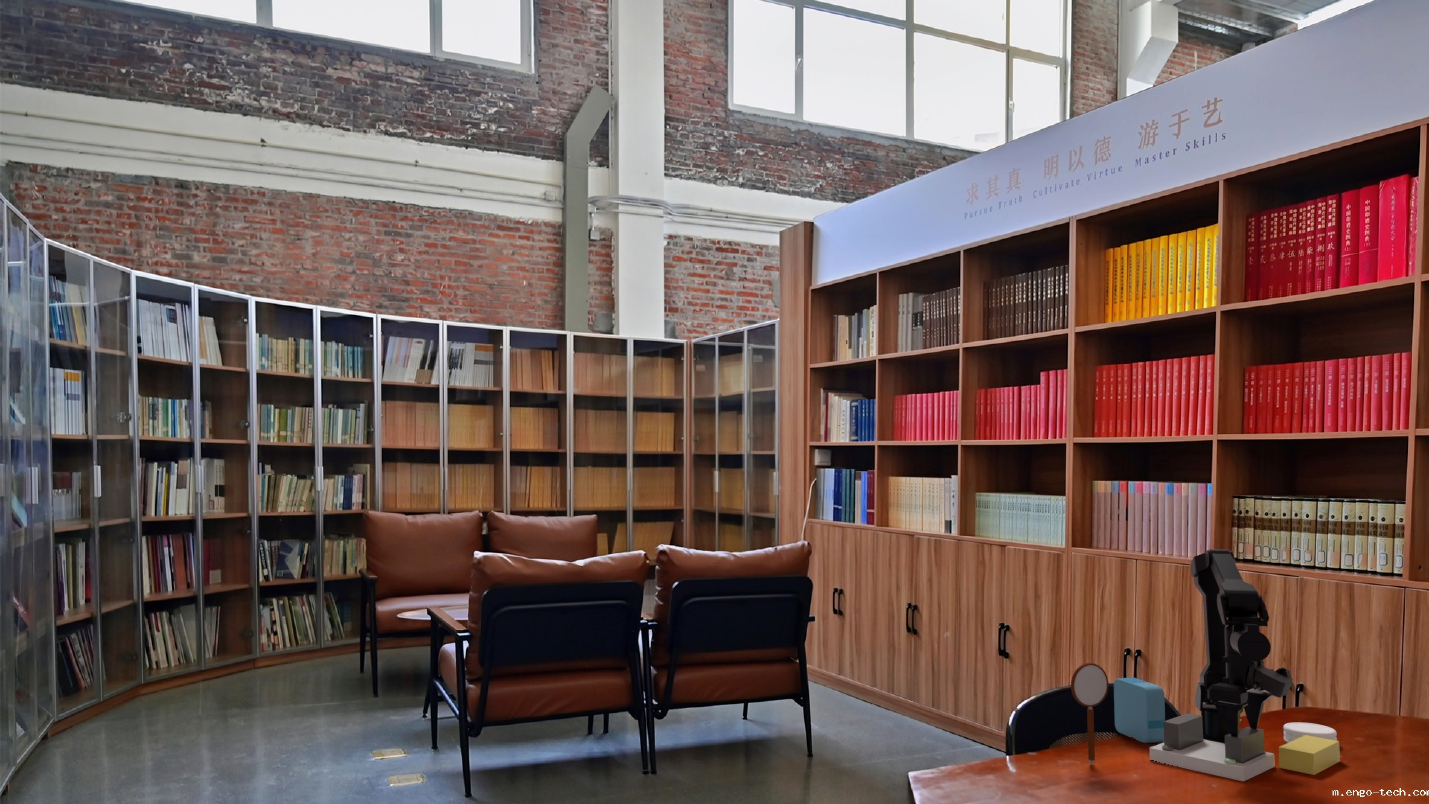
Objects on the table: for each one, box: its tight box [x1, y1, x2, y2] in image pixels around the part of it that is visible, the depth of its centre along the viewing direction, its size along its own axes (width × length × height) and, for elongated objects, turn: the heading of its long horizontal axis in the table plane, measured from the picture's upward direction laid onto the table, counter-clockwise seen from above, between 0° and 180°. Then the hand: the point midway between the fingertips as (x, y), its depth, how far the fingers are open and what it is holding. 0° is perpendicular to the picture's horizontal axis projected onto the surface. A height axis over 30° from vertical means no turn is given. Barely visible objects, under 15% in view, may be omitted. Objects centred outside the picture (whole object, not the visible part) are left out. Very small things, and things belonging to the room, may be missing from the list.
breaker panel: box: [1149, 739, 1276, 782], centre depth 198 cm, size 18×15×3 cm
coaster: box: [1282, 721, 1338, 744], centre depth 214 cm, size 10×10×4 cm
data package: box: [1113, 677, 1166, 744], centre depth 219 cm, size 12×4×12 cm, turn 11°
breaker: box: [1163, 712, 1204, 750], centre depth 204 cm, size 3×11×5 cm, turn 131°
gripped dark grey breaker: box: [1224, 726, 1266, 764], centre depth 195 cm, size 3×11×5 cm, turn 131°
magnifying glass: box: [1070, 662, 1109, 766], centre depth 198 cm, size 9×2×20 cm, turn 107°
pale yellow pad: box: [1278, 735, 1341, 776], centre depth 198 cm, size 6×14×4 cm, turn 131°
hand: (1244, 732), depth 195 cm, fingers open, 9 cm apart
